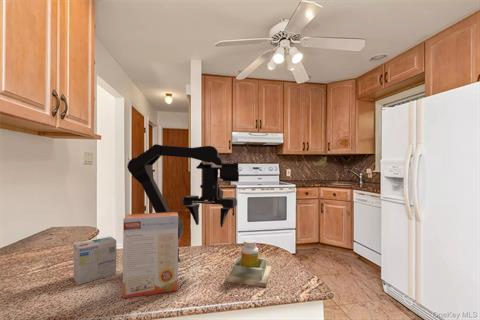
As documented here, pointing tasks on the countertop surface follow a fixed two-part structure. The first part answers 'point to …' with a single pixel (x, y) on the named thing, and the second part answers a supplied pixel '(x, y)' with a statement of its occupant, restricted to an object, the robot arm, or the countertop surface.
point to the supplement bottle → (249, 254)
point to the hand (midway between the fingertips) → (209, 225)
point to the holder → (250, 273)
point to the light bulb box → (94, 259)
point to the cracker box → (150, 253)
